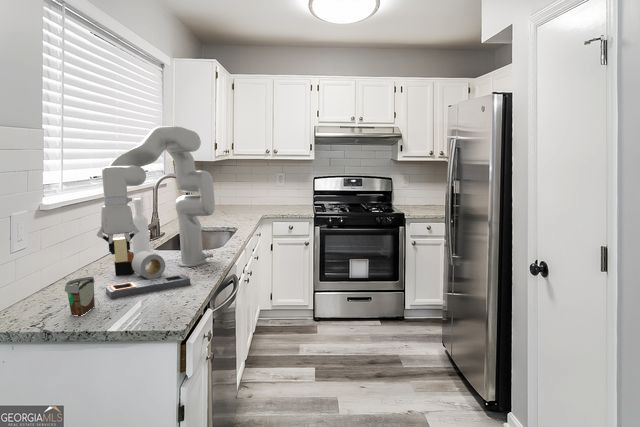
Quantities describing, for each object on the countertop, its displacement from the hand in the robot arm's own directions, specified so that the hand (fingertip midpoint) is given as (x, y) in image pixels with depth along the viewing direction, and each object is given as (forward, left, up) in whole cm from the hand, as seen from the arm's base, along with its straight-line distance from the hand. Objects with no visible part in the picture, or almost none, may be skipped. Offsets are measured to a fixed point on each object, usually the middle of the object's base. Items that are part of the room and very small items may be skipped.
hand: (119, 252), depth 164 cm
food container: (+16, +13, -15) cm, 25 cm away
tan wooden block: (0, 0, -3) cm, 3 cm away
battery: (-7, -31, -15) cm, 36 cm away
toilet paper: (-14, -20, -15) cm, 29 cm away
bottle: (-19, -53, -15) cm, 59 cm away
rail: (-9, 0, -15) cm, 18 cm away
